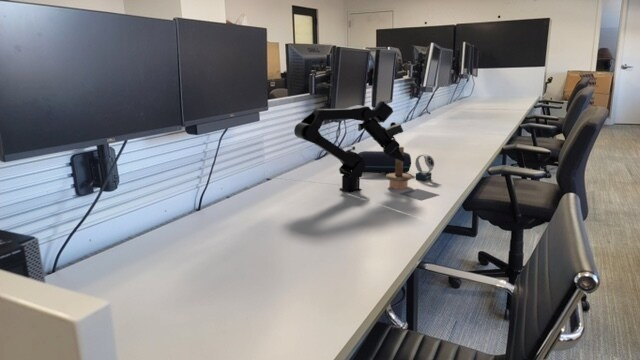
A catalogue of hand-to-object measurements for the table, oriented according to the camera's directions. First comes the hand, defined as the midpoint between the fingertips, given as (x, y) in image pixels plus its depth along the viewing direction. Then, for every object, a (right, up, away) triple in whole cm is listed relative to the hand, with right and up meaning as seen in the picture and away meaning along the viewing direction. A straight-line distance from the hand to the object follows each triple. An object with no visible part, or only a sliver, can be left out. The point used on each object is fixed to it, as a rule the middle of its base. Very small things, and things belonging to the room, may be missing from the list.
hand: (403, 158), depth 180 cm
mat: (+5, -15, -8) cm, 17 cm away
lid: (-1, -8, +2) cm, 8 cm away
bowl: (-1, -12, +3) cm, 12 cm away
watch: (+11, -9, +14) cm, 20 cm away
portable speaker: (-5, -6, +27) cm, 28 cm away
